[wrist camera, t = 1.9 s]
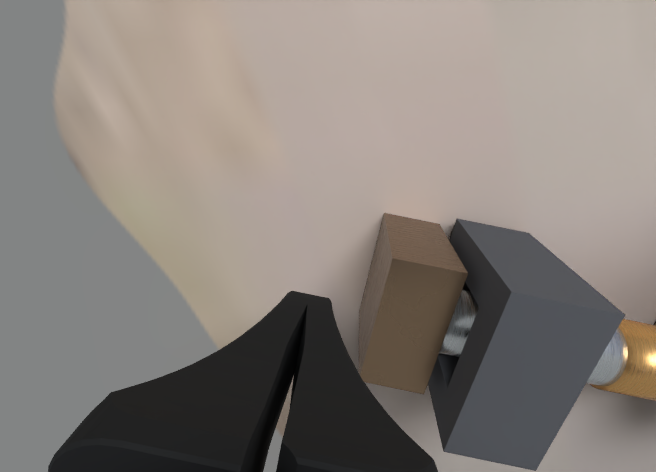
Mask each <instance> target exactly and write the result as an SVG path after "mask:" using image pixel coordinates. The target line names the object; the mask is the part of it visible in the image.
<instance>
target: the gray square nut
mask: <svg viewBox="0 0 656 472" xmlns="http://www.w3.org/2000/svg"><path fill="white" fill-rule="evenodd" d="M450 243H451V245H452V247H453V248H454V250H455V252H456V253H457V255H458V257H459V259H460V260H461V262H462V264H463V265H464V267H465V269H466V271H467V272H468V275H467V278H466V281H465V284H464V286H463V289H462V290H466V291H471V293H472V295H473V297H474V299H475V301H476V302H477V304H478V306H479V309H478V312H477V314H476V317H475V319H474V322H473V324H472V327H471V329H470V332H469V335H468V337H467V340H466V342H465V345H464V347H463V350H462V352H461V355H460V357H457V356H452V355H447V354H442V353H439V354H438V357H437V360H436V363H435V365H434V368H433V371H432V373H431V376H430V379H429V382H428V385H429V390H430V394H431V398H432V403H433V407H434V412H435V416H436V420H437V425H438V429H439V433H440V438H441V442H442V447H443V451H444V452H448V453H453V454H458V455H462V456H467V457H472V458H477V459H482V460H487V461H491V462H496V463H501V464H506V465H511V466H515V467H520V468H525V469H530V470H535V471H536V469H537V468H538V466H539V464H540V462H541V461H542V459H543V457H544V455H545V454H546V452H547V450H548V449H549V447H550V445H551V443H552V442H553V440H554V438H555V436H556V435H557V433H558V431H559V429H560V428H561V426H562V424H563V422H564V421H565V419H566V417H567V415H568V414H569V412H570V410H571V408H572V407H573V405H574V403H575V402H576V400H577V398H578V396H579V395H580V393H581V391H582V389H583V388H584V386H585V384H586V382H587V381H588V379H589V377H590V375H591V374H592V372H593V370H594V368H595V367H596V365H597V363H598V362H599V360H600V358H601V356H602V355H603V353H604V351H605V349H606V348H607V346H608V344H609V342H610V341H611V339H612V337H613V335H614V334H615V332H616V330H617V328H618V327H619V325H620V323H621V321H622V320H623V318H624V316H625V314H623V313H622V312H621V311H620V310H619V309H618V308H616V307H615V306H614V305H613V304H612V303H610V302H609V301H608V300H607V299H606V298H605V297H603V296H602V295H601V294H600V293H599V292H598V291H596V290H595V289H594V288H593V287H592V286H590V285H589V284H588V283H587V282H586V281H585V280H583V279H582V278H581V277H580V276H579V275H577V274H576V273H575V272H574V271H573V270H572V269H570V268H569V267H568V266H567V265H566V264H565V263H563V262H562V261H561V260H560V259H559V258H557V257H556V256H555V255H554V254H553V253H552V252H550V251H549V250H548V249H547V248H546V247H544V246H543V245H542V244H541V243H540V242H539V241H537V240H536V239H535V238H534V237H533V236H532V235H530V234H529V233H526V232H521V231H516V230H511V229H506V228H501V227H496V226H491V225H486V224H481V223H476V222H471V221H466V220H461V219H457V220H456V223H455V226H454V229H453V232H452V235H451V238H450Z"/></svg>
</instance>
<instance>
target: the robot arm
mask: <svg viewBox="0 0 656 472" xmlns="http://www.w3.org/2000/svg"><path fill="white" fill-rule="evenodd" d="M293 375H294V379H293V387H292V395H291V403H290V411H289V416H288V420H287V424H286V428H285V432H284V436H283V440H282V444H281V450H280V454H279V460H278V465H277V470H276V472H438V470H437V467H436V465H435V462H434V460H433V458H431V457H430V456H429V455H428V454H427V453H426V452H425V451H424V450H423V449H422V448H421V447H420V446H419V445H418V444H417V443H415V442H414V441H413V440H412V439H411V438H410V437H409V436H408V435H407V434H406V433H405V432H404V431H403V430H402V429H401V428H400V427H399V426H398V425H397V424H396V422H395V421H394V420H393V419H392V418H391V417H390V416H389V415H388V414H387V412H386V411H385V410H384V409H383V407H382V406H381V405H380V404H379V402H378V401H377V400H376V398H375V397H374V396H373V394H372V393H371V392H370V390H369V389H368V387H367V386H366V384H365V383H364V381H363V380H362V378H361V376H360V375H359V373H358V371H357V369H356V368H355V366H354V364H353V362H352V360H351V358H350V356H349V354H348V352H347V350H346V348H345V345H344V343H343V341H342V338H341V335H340V333H339V330H338V327H337V325H336V321H335V318H334V314H333V310H332V303H331V301H330V299H329V298H325V297H320V296H315V295H310V294H305V293H300V292H295V291H291V292H289V293H287V295H286V296H285V297H284V298H283V299H282V301H281V302H280V303H279V304H278V305H277V306H276V307H275V308H274V309H273V310H272V311H271V312H269V313H268V314H267V315H266V316H265V317H264V318H263V319H262V320H261V321H259V322H258V323H257V324H256V325H254V326H253V327H252V328H251V329H249V330H248V331H247V332H245V333H244V334H243V335H241V336H240V337H239V338H237V339H236V340H234V341H233V342H231V343H230V344H228V345H227V346H225V347H223V348H222V349H220V350H218V351H217V352H215V353H213V354H211V355H210V356H208V357H206V358H204V359H202V360H200V361H198V362H196V363H194V364H192V365H190V366H187V367H185V368H182V369H180V370H178V371H176V372H173V373H170V374H167V375H165V376H163V377H160V378H157V379H154V380H151V381H148V382H145V383H141V384H138V385H135V386H131V387H129V388H125V389H122V390H118V391H115V392H111V393H110V394H109V395H108V396H107V397H106V398H105V399H104V400H103V401H102V402H101V403H100V404H99V405H98V406H97V407H96V408H95V409H94V410H93V411H92V412H91V413H90V414H89V415H88V416H87V417H86V418H85V419H84V421H82V423H81V424H80V425H79V426H78V427H77V429H76V430H75V431H74V432H73V434H72V435H71V436H70V437H69V438H68V439H67V440H66V442H65V443H64V444H63V445H62V446H61V448H60V449H59V450H58V451H57V452H56V453H55V455H54V457H53V458H52V461H51V463H50V465H49V469H48V472H263V470H264V466H265V462H266V457H267V454H268V449H269V446H270V443H271V440H272V436H273V433H274V431H275V428H276V425H277V422H278V419H279V416H280V413H281V410H282V407H283V405H284V402H285V399H286V396H287V393H288V390H289V387H290V384H291V381H292V378H293Z"/></svg>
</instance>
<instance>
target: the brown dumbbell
mask: <svg viewBox="0 0 656 472" xmlns="http://www.w3.org/2000/svg"><path fill="white" fill-rule="evenodd" d="M467 275H468V272H467V271H466V269H465V267H464V265H463V264H462V262H461V260H460V259H459V257H458V255H457V253H456V252H455V250H454V248H453V247H452V245H451V243H450V241H449V240H448V238H447V236H446V235H445V233H444V231H443V230H442V228H441V226H440V224H436V223H431V222H426V221H421V220H416V219H411V218H406V217H401V216H396V215H391V214H386V213H384V216H383V220H382V224H381V228H380V232H379V235H378V239H377V243H376V247H375V251H374V255H373V259H372V263H371V267H370V271H369V275H368V279H367V283H366V287H365V291H364V295H363V299H362V303H361V307H360V311H359V375H360V376H361V378H362V380H363V381H364V382H367V383H372V384H377V385H382V386H386V387H391V388H396V389H401V390H406V391H411V392H416V393H420V394H424V393H425V390H426V387H427V384H428V382H429V379H430V376H431V373H432V371H433V368H434V365H435V363H436V360H437V357H438V354H439V353H442V354H447V355H452V356H457V357H460V355H461V352H462V350H463V347H464V345H465V342H466V340H467V337H468V335H469V332H470V329H471V327H472V324H473V322H474V319H475V317H476V314H477V312H478V309H479V306H478V304H477V302H476V301H475V299H474V297H473V295H472V293H471V291H466V290H462V289H463V286H464V284H465V281H466V278H467ZM586 383H589V384H590V385H592V386H593V387H595V388H597V389H601V390H606V391H610V392H615V393H620V394H625V395H630V396H635V397H640V398H645V399H649V400H654V401H656V323H655V324H654V325H651V324H646V323H641V322H636V321H631V320H626V319H623V320H622V321H621V323H620V325H619V327H618V328H617V330H616V332H615V334H614V335H613V337H612V339H611V341H610V342H609V344H608V346H607V348H606V349H605V351H604V353H603V355H602V356H601V358H600V360H599V362H598V363H597V365H596V367H595V368H594V370H593V372H592V374H591V375H590V377H589V379H588V381H587V382H586Z"/></svg>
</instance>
